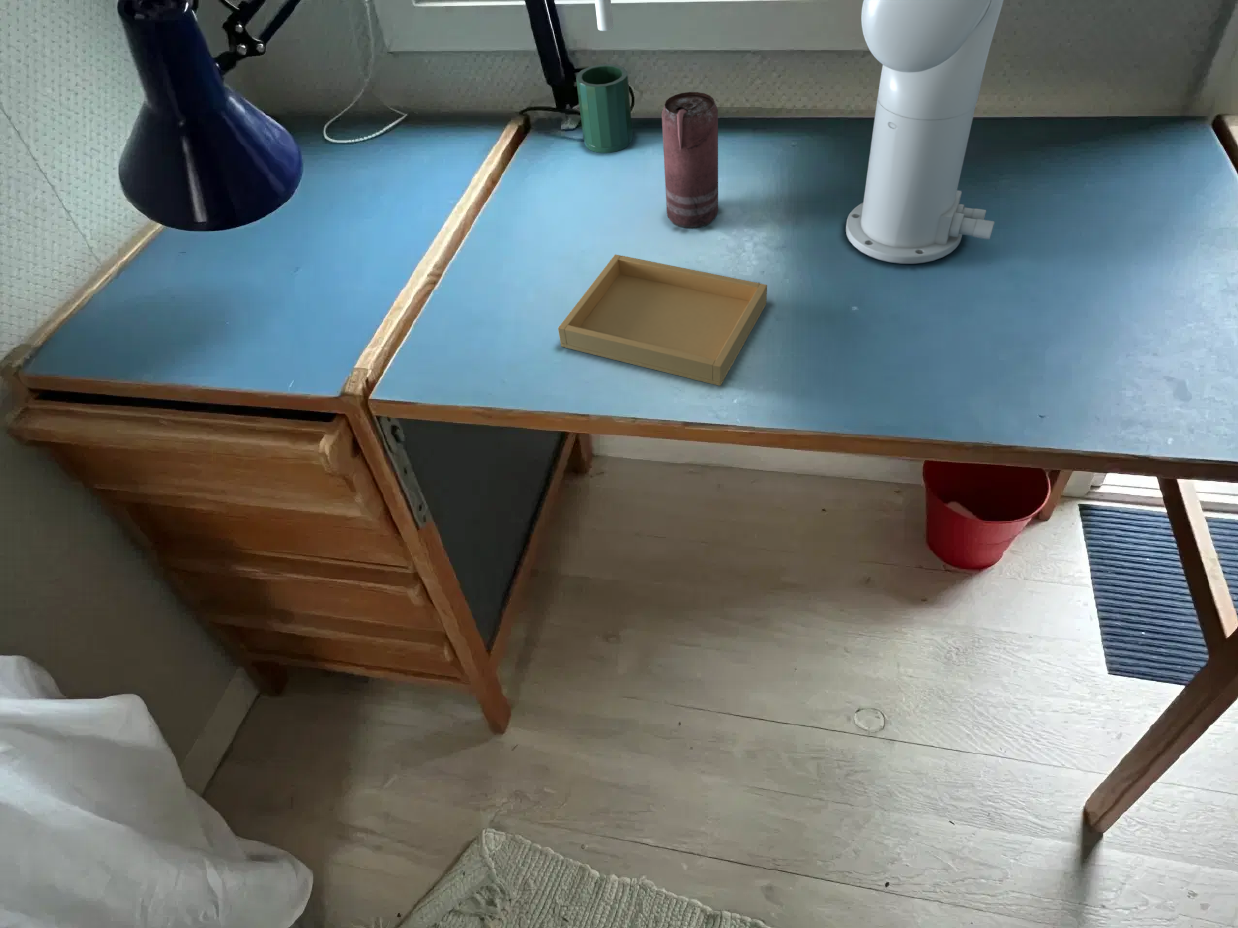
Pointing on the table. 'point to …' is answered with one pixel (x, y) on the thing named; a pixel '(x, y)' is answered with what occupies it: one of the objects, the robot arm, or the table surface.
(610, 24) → the marker
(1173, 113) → the table surface
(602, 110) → the tumbler
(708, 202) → the can
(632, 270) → the tray
